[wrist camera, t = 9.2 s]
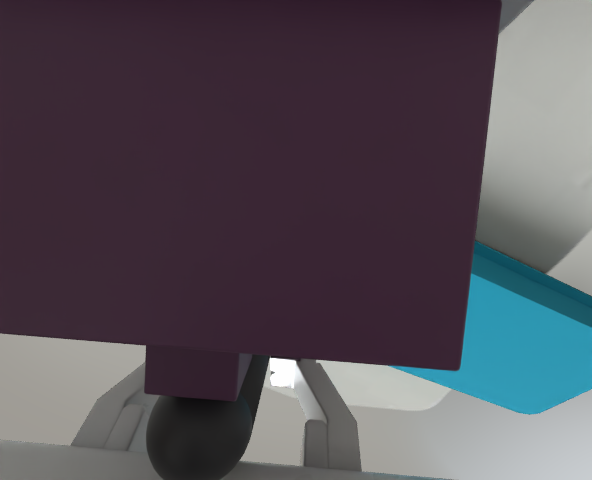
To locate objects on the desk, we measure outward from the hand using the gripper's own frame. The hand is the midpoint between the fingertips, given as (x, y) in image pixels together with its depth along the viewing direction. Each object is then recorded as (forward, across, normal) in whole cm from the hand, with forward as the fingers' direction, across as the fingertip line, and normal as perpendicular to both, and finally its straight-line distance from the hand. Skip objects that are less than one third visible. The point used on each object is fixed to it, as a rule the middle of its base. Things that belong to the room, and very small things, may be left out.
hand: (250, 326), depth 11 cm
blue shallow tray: (+6, -16, +9) cm, 19 cm away
